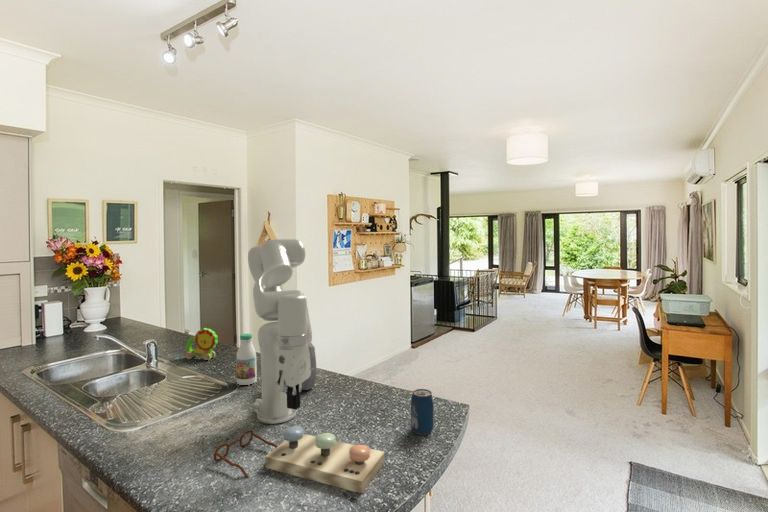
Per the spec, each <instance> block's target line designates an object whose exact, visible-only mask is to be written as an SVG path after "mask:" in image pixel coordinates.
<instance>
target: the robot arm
mask: <svg viewBox="0 0 768 512" xmlns="http://www.w3.org/2000/svg"><path fill="white" fill-rule="evenodd" d="M247 254H248V255H247V262H248V268H249V271H250V274H251V277H252V278H253V281H254V285H253V289H252V297H253V303H254V310H255V313H256V315H257V316H258V317H259V318H261V319H262V320H264V321H267V322H268V323H267V322H266V323H265V324H263V325H261V326H260V327H259V329H258V330H257V331H258V332H257V341H258V346H259V353H260V367H261V369H260V370H261V371H260V373H261V374H260V375H261V398H256V399H255V401H254V403H253V407H254V408H258V409H259V410H258V412H257V414H256V418H257V420H258V421H259V422H261V423H262V424H270V425H275V424H282V423H285V422H288V421H290V420H292V419H294V417H295V416H296V415H297V410H298V409H299V408H301V392H302V390H301V388H302V383H303V382H304V381H305V380H306V379H308V378H309V377H310V375H311V364H310V353H309V347H308V346H309V345H310V344H311V343H312V340H313V333H312V325H311V320H310V314H309V308H308V305H307V304H308V303H307V301H308V300H307V296H306V295H305V293H304V292H303V291H301V290H296V289H295V290H283V284H285V283H287V282H288V281H289V280H290V279H291V278H292V276H293V269H294V268H297V267H299V266H301V265H302V264H303V263H304V261H305V259H306V248H305V246H304V244H303V242H302V241H300V240H299V239H295V238H293V239H289V238H287V239H285V238H284V239H282V238H281V239H279V238H277V239H274V238H273V239H268V240H266V241H265V242H263V243H262V244H260V245H256V246H253V247H251V248H250V249H249V251H248V253H247Z"/></svg>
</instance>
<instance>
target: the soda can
mask: <svg viewBox="0 0 768 512" xmlns="http://www.w3.org/2000/svg"><path fill="white" fill-rule="evenodd" d="M434 401H435V400H434V396H433V394H432V391H431V390H429V389H427V388H426V389H425V388H417V389H415V390H413V391H412V395H411V397H410V427H411V429H412V431H413V432H414V433H415V434H417V435H419V436H420V435H421V436H422V435H423V436H424V435H429V434H430V433H431V432H432V431H433V430H434Z"/></svg>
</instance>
